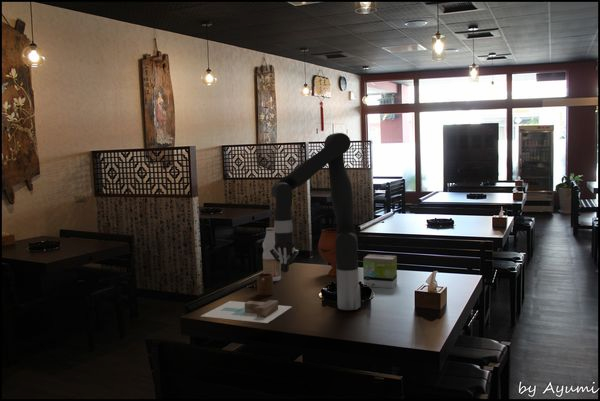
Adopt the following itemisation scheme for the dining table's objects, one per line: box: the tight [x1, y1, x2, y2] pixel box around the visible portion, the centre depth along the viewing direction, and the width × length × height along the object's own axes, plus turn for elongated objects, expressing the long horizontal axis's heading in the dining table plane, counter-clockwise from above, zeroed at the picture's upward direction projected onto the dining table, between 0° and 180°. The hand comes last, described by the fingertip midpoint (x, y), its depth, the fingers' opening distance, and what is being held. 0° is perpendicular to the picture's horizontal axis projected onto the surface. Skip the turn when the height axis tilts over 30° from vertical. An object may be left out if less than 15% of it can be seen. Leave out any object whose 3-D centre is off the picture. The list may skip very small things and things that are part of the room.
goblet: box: [317, 227, 337, 277], centre depth 297 cm, size 19×19×25 cm
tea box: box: [362, 254, 398, 289], centre depth 269 cm, size 15×10×15 cm
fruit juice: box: [262, 227, 282, 282], centre depth 289 cm, size 9×9×28 cm
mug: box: [256, 273, 274, 297], centre depth 259 cm, size 12×8×9 cm, turn 175°
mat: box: [200, 300, 293, 324], centre depth 233 cm, size 32×24×1 cm
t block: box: [245, 299, 279, 318], centre depth 231 cm, size 12×12×4 cm
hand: (285, 272), depth 224 cm, fingers closed
